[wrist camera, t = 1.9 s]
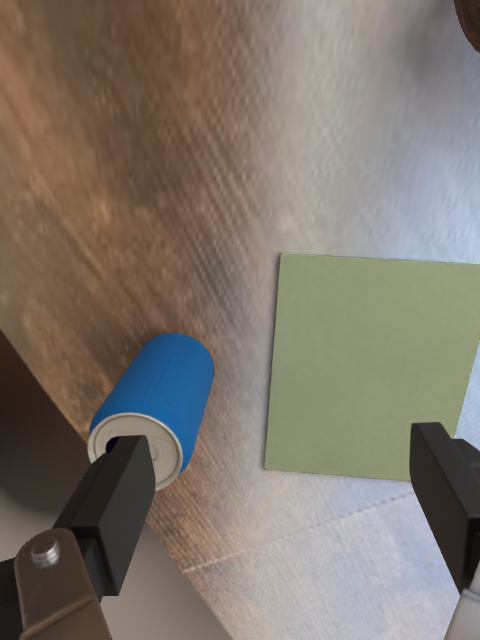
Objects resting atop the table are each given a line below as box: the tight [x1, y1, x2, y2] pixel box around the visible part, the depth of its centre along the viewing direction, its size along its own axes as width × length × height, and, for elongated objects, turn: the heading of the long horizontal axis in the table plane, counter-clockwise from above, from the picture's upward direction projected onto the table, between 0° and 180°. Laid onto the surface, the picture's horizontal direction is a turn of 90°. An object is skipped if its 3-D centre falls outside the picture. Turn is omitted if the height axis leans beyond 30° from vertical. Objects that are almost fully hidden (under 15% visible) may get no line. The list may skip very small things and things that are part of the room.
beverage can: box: [88, 333, 214, 491], centre depth 30 cm, size 6×6×12 cm
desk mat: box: [264, 253, 480, 481], centre depth 35 cm, size 16×20×1 cm
